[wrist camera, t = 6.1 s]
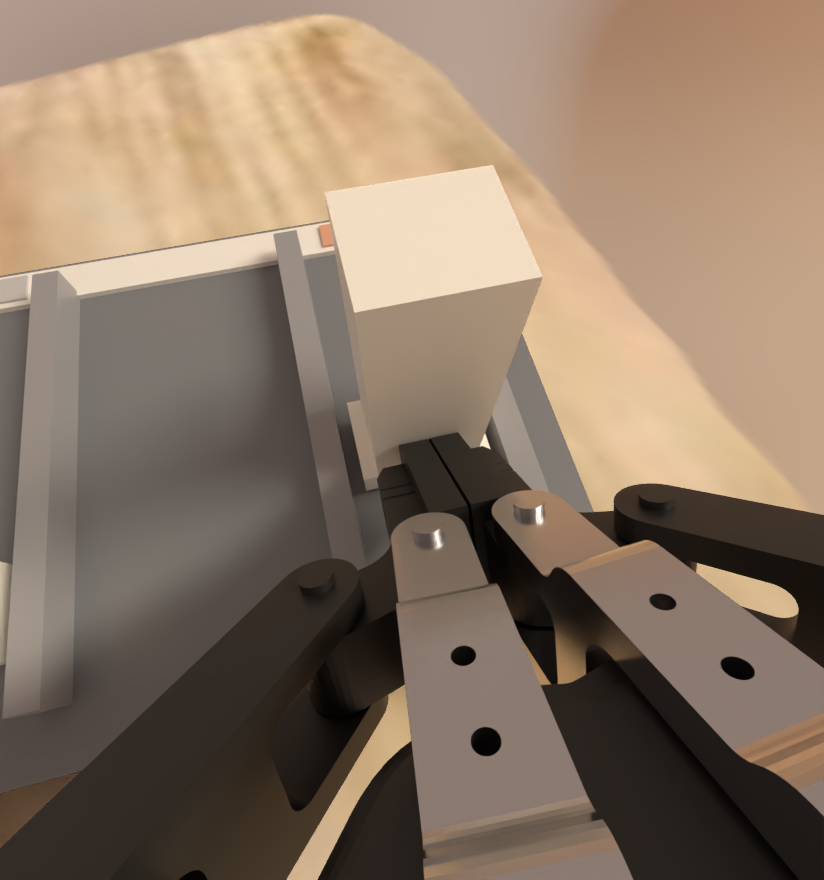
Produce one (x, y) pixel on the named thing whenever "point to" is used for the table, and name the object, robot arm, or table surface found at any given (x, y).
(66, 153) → the table surface
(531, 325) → the table surface
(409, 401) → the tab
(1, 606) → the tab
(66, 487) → the switch box
